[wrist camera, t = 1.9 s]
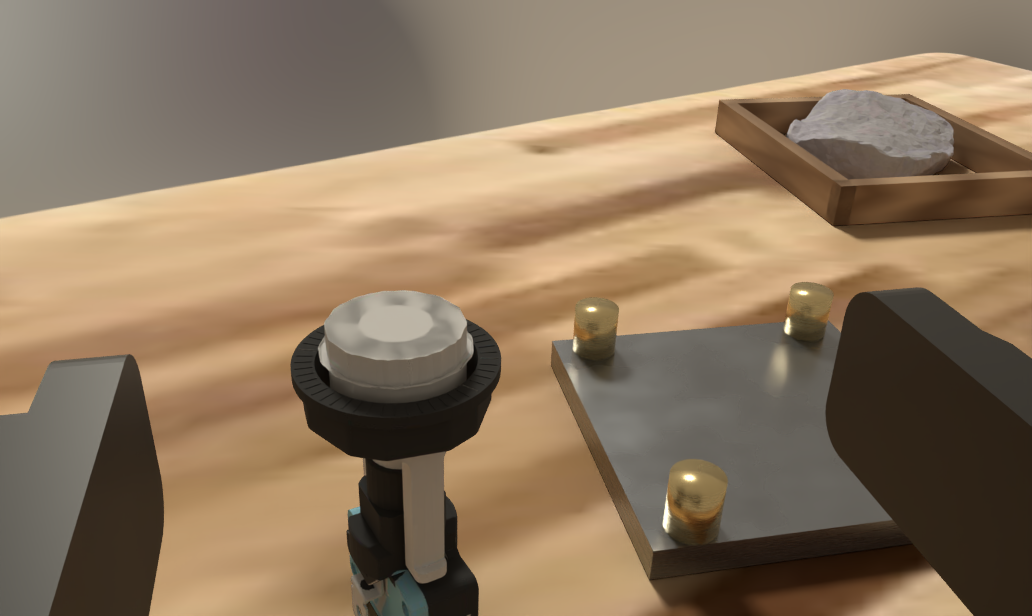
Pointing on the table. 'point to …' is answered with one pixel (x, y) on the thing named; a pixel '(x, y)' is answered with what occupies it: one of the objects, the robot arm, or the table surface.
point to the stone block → (874, 136)
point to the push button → (400, 439)
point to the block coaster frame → (990, 192)
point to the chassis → (720, 438)
